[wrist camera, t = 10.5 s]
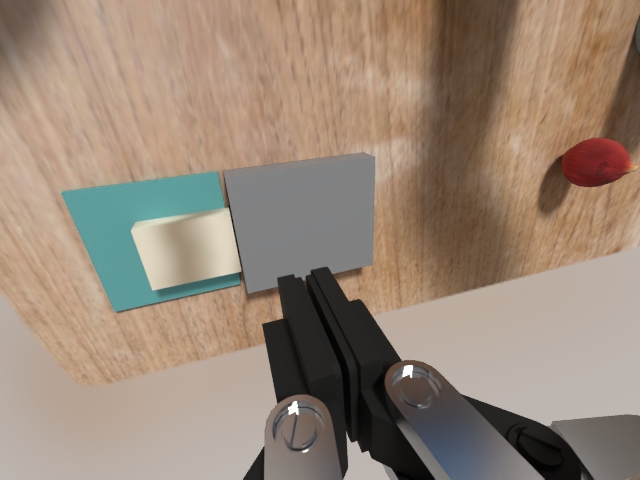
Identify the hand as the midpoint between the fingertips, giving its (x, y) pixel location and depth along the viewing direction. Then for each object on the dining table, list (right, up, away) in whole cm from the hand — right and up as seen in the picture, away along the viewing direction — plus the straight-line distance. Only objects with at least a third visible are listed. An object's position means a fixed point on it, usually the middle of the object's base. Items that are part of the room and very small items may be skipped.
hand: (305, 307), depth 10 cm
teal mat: (-14, +2, +19) cm, 24 cm away
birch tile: (-12, +2, +19) cm, 23 cm away
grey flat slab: (-1, +5, +22) cm, 23 cm away
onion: (+33, +13, +31) cm, 47 cm away
